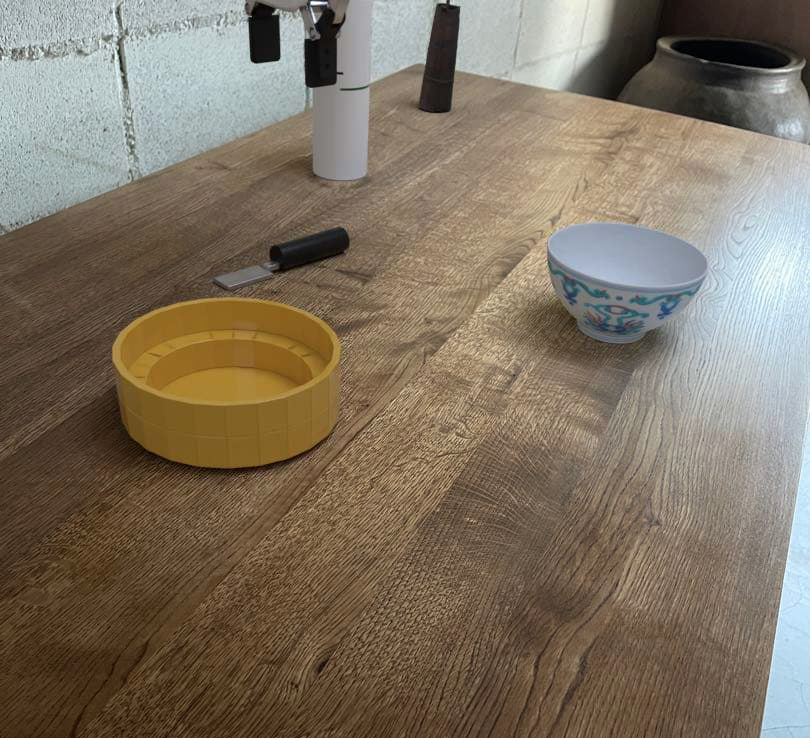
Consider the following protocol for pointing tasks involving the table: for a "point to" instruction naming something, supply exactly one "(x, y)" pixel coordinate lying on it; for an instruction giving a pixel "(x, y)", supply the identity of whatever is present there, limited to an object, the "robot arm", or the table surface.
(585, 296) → the chinaware
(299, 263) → the putty knife
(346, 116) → the cylindrical container
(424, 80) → the butter churn
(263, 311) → the bowl
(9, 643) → the table surface
